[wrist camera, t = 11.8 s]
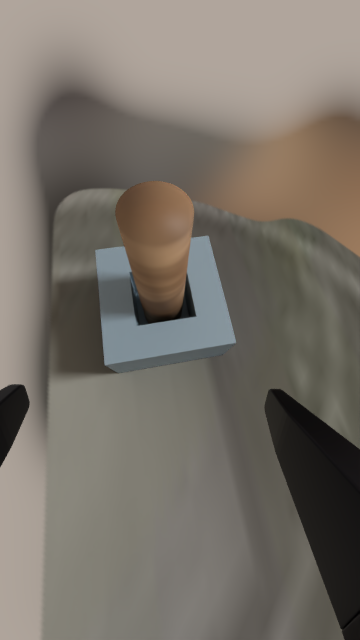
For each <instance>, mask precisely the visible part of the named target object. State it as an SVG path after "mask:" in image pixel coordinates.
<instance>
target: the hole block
mask: <svg viewBox="0 0 360 640" xmlns="http://www.w3.org/2000/svg"><path fill="white" fill-rule="evenodd" d="M95 251H96V263H97V276H98V288H99V301H100V313H101V326H102V338H103V351H104V363H105V366H107V367H109V368H110V369H112V370H114V371H116V372H117V373H123V372H128V371H134V370H140V369H145V368H151V367H157V366H162V365H168V364H174V363H180V362H185V361H191V360H197V359H202V358H208V357H214V356H219V355H223V354H224V353H225V352H227V351H228V350H229V349H230V348H231V347H232V346H233V345H234V344H235V343H236V340H235V336H234V332H233V328H232V324H231V320H230V317H229V313H228V309H227V305H226V301H225V297H224V294H223V290H222V286H221V282H220V278H219V275H218V271H217V267H216V263H215V259H214V255H213V252H212V248H211V244H210V240H209V236H203V237H195V238H191V242H190V250H189V258H188V266H187V274H186V282H185V290H184V298H183V306H182V314H181V318H180V319H178V320H171V321H165V322H159V323H152V324H149V323H148V322H147V320H146V318H145V315H144V311H143V308H142V305H141V301H140V298H139V294H138V291H137V288H136V284H135V281H134V277H133V274H132V271H131V267H130V264H129V260H128V257H127V254H126V250H125V247H124V246H123V247H115V248H107V249H99V250H95Z"/></svg>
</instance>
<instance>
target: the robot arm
mask: <svg viewBox="0 0 360 640" xmlns="http://www.w3.org/2000/svg"><path fill="white" fill-rule="evenodd" d="M28 408H29V399H28V395H27V392H26V389H25V386H24V385H19V384H14V385H9V386H7V387H5V388H3V389H1V390H0V467H1V465H2V463H3V461H4V460H5V457H6V456H7V454H8V452H9V450H10V448H11V446H12V444H13V442H14V440H15V437H16V435H17V433H18V431H19V429H20V426H21V424H22V422H23V420H24V418H25V415H26V413H27V411H28ZM265 414H266V418H267V421H268V425H269V429H270V433H271V437H272V441H273V445H274V448H275V452H276V455H277V458H278V460H279V463H280V466H281V469H282V471H283V474H284V477H285V479H286V482H287V485H288V487H289V490H290V493H291V495H292V498H293V501H294V504H295V506H296V509H297V512H298V514H299V517H300V520H301V522H302V525H303V528H304V531H305V533H306V536H307V539H308V541H309V544H310V547H311V549H312V552H313V555H314V557H315V560H316V563H317V566H318V568H319V571H320V574H321V576H322V579H323V582H324V584H325V587H326V590H327V593H328V595H329V598H330V601H331V603H332V606H333V609H334V611H335V614H336V617H337V620H338V622H339V625H340V628H341V629H342V634H343V636H344V639H345V640H360V449H359V448H357V447H356V446H355V445H353V444H352V443H351V442H349V441H348V440H347V439H346V438H344V437H343V436H342V435H340V434H339V433H338V432H336V431H335V430H334V429H332V428H331V427H330V426H329V425H327V424H326V423H325V422H323V421H322V420H321V419H319V418H318V417H317V416H315V415H314V414H313V413H311V412H310V411H309V410H308V409H306V408H305V407H304V406H302V405H301V404H300V403H298V402H297V401H296V400H294V399H293V398H292V397H291V396H289V395H288V394H287V393H285V392H284V391H283V390H281V389H270V390H269V391H268V394H267V398H266V402H265Z"/></svg>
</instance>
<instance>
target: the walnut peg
mask: <svg viewBox="0 0 360 640" xmlns="http://www.w3.org/2000/svg"><path fill="white" fill-rule="evenodd" d="M115 213H116V220H117V223H118V227H119V230H120V233H121V237H122V240H123V243H124V247H125V250H126V254H127V257H128V260H129V264H130V267H131V271H132V274H133V277H134V281H135V284H136V288H137V291H138V294H139V298H140V301H141V305H142V308H143V311H144V315H145V318H146V320H147V322H148V323H149V324H152V323H159V322H165V321H171V320H178V319H180V318H181V314H182V306H183V298H184V290H185V282H186V274H187V266H188V258H189V250H190V242H191V234H192V226H193V218H194V208H193V204H192V202H191V200H190V198H189V197H188V195H187V194H186V193H185V192H184V191H183V190H181V189H180V188H178V187H176V186H175V185H172V184H169V183H166V182H160V181H149V182H144V183H140V184H137V185H135V186H133V187H131V188H129V189H128V190H127V191H126V192H124V193H123V195H122V196H121V197H120V199H119V200H118V202H117V205H116V211H115Z"/></svg>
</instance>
